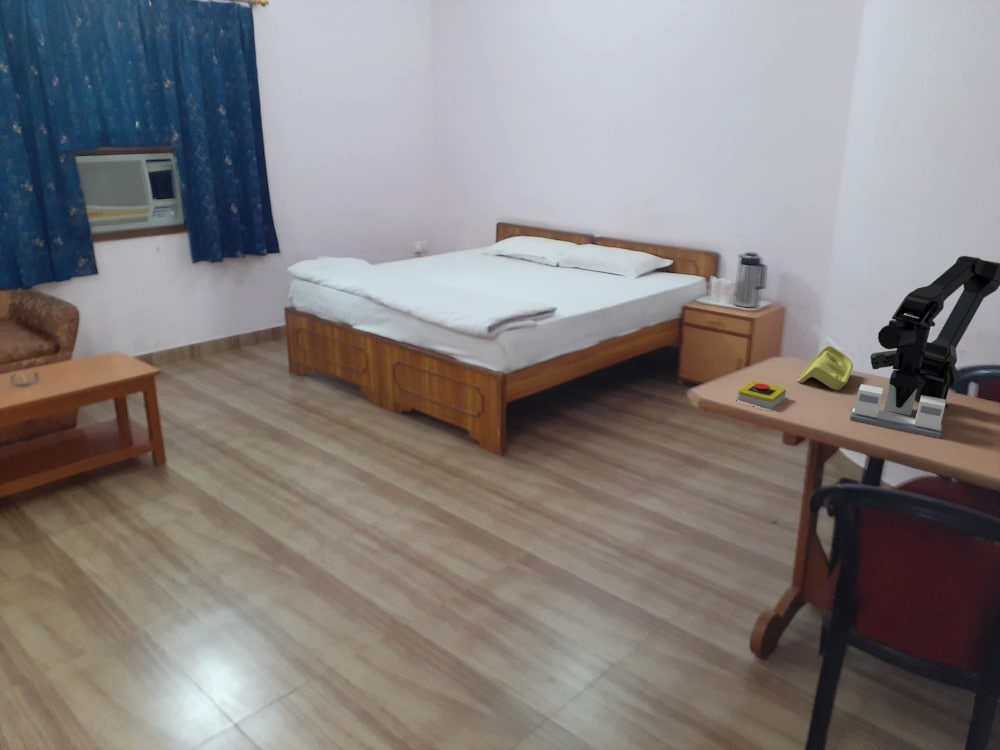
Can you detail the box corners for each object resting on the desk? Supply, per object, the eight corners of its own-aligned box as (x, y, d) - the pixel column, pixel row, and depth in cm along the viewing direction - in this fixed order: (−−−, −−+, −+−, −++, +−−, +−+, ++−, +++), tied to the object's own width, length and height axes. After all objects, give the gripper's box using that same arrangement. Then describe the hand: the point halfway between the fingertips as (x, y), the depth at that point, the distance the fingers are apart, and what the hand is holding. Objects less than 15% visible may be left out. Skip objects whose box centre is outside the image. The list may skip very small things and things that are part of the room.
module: (911, 409, 186) (917, 383, 184) (910, 415, 182) (917, 388, 180) (885, 404, 189) (891, 378, 187) (883, 410, 185) (889, 384, 183)
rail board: (940, 427, 175) (947, 398, 173) (940, 438, 169) (947, 408, 166) (853, 410, 184) (859, 382, 182) (849, 419, 178) (855, 391, 175)
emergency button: (734, 387, 185) (755, 373, 196) (732, 403, 187) (753, 389, 198) (771, 396, 180) (791, 382, 191) (769, 413, 181) (788, 397, 193)
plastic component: (845, 385, 196) (812, 363, 198) (828, 405, 200) (796, 383, 202) (855, 361, 211) (824, 342, 214) (839, 381, 215) (809, 361, 218)
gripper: (879, 331, 191) (867, 387, 196) (873, 347, 176) (860, 408, 181) (928, 338, 186) (914, 396, 191) (925, 356, 171) (911, 418, 176)
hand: (899, 404), depth 185 cm, fingers closed on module, 5 cm apart
